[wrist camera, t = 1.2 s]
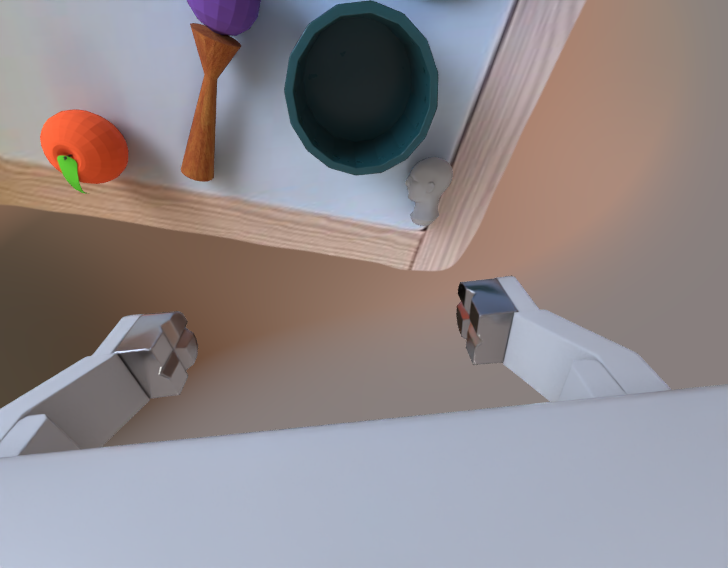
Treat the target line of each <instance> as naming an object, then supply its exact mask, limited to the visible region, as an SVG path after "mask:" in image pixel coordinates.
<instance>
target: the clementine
mask: <svg viewBox="0 0 728 568" xmlns="http://www.w3.org/2000/svg"><path fill="white" fill-rule="evenodd" d="M40 140H41V146H42V148H43V151H44V154H45V156H46V157H47V159H48V160H49V162H50V163H51V164H52V165H53V166H54V167H55V168H56V169H57V170H58V171H60V172H61V173H62V174H63V175H64V177H65V178H66V180H67V181H68V182H69V183H70V184H71V186H73V187H74V188H75V189H76V190H78V191H80V192H82V193H85V192H84V191H83V190H82V188H81V186H80V184H79V181H80V182H83V183H94V184H99V183H105V182H108V181H111V180H113V179H115V178H117V177H118V176H119V175H120V174H121V173H122V172H123V171H124V169H125V168H126V166H127V163H128V147H127V143H126V141H125V139H124V137H123V135H122V134H121V133H120V132H119V130H118V129H117V128H116V127H115V126H114V125H113V124H112V123H111V122H109V121H108V120H106V119H105V118H103V117H101V116H99V115H96V114H93V113H91V112H88V111H83V110H67V111H61V112H59V113H57V114H55V115H54V116H52V117H50V118H49V119H48V120H47V121H46V123H45V124H44V126H43V128H42V131H41V136H40Z"/></svg>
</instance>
